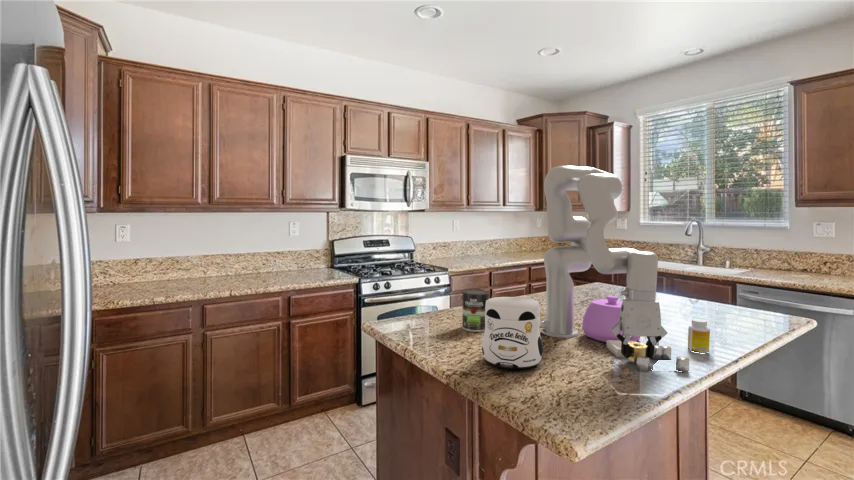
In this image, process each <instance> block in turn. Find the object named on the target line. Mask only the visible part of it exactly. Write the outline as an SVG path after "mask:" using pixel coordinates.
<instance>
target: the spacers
mask: <svg viewBox="0 0 854 480" xmlns="http://www.w3.org/2000/svg"><path fill="white" fill-rule="evenodd" d="M646 342H648V339H646ZM653 359H654V360H672V347H671V346H668V345H660V341H659V342H657V344H656V345H655V347H654V355H653ZM675 362H676V370H678V371H682V372H688V371H689V372H690V358H689V357H686V356H676V360H675ZM636 369H637V370H638V371H637V372H643V373H648V371H649V357H646V356H637V364H636ZM682 372H681V373H682Z"/></svg>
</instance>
